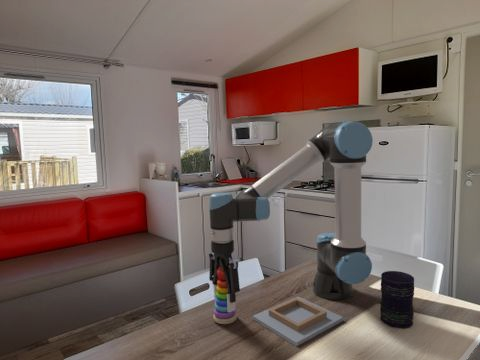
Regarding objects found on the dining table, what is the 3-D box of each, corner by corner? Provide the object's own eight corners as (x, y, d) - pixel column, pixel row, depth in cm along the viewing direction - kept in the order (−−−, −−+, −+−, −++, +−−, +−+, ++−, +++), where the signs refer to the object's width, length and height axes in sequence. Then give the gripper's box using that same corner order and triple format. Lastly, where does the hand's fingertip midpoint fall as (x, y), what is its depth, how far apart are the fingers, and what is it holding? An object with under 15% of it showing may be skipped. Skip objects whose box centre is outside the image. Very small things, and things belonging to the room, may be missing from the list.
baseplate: (298, 299, 130) (298, 291, 130) (343, 320, 114) (343, 311, 114) (252, 319, 117) (252, 310, 116) (296, 346, 101) (296, 336, 101)
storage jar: (407, 332, 106) (408, 285, 104) (375, 321, 113) (376, 277, 111) (417, 319, 114) (418, 275, 112) (386, 310, 120) (387, 268, 118)
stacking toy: (234, 326, 113) (232, 270, 110) (210, 324, 114) (208, 269, 112) (239, 314, 120) (237, 262, 118) (216, 312, 122) (214, 261, 120)
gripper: (197, 236, 120) (199, 299, 122) (230, 249, 104) (233, 322, 107) (215, 231, 124) (217, 293, 127) (250, 244, 108) (252, 314, 111)
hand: (224, 306), depth 117 cm, fingers closed on stacking toy, 7 cm apart
